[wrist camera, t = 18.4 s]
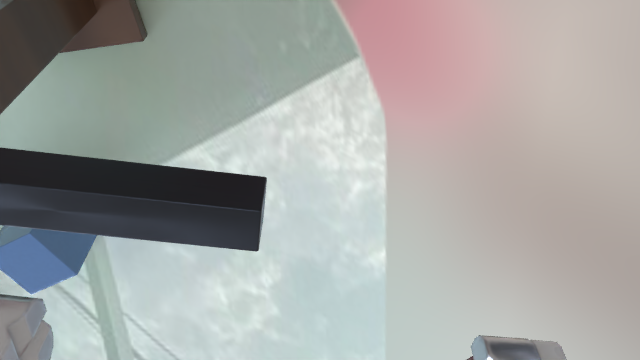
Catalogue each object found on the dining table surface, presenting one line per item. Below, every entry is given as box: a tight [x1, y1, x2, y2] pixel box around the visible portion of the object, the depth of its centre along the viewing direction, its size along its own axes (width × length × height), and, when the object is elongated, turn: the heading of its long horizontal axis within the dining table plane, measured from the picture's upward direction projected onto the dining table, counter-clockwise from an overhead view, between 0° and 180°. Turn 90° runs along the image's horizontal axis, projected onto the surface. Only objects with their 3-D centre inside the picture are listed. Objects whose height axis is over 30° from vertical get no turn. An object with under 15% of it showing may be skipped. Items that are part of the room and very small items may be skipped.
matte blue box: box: [0, 226, 97, 294], centre depth 54 cm, size 6×6×8 cm
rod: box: [0, 148, 267, 251], centre depth 24 cm, size 20×4×3 cm, turn 83°
